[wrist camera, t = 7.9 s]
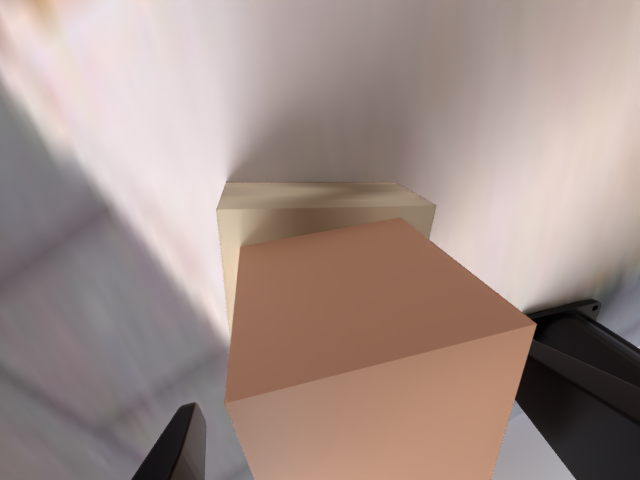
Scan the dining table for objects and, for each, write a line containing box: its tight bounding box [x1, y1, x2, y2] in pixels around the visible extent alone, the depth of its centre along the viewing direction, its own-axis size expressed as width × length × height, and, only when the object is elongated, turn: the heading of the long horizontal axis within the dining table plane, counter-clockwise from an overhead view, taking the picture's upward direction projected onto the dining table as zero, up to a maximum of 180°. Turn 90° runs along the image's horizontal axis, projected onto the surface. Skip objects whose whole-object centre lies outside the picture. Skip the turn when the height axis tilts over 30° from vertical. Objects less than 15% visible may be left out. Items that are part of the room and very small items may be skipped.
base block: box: [216, 182, 436, 342], centre depth 14 cm, size 8×8×4 cm
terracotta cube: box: [224, 217, 537, 480], centre depth 9 cm, size 6×6×6 cm
